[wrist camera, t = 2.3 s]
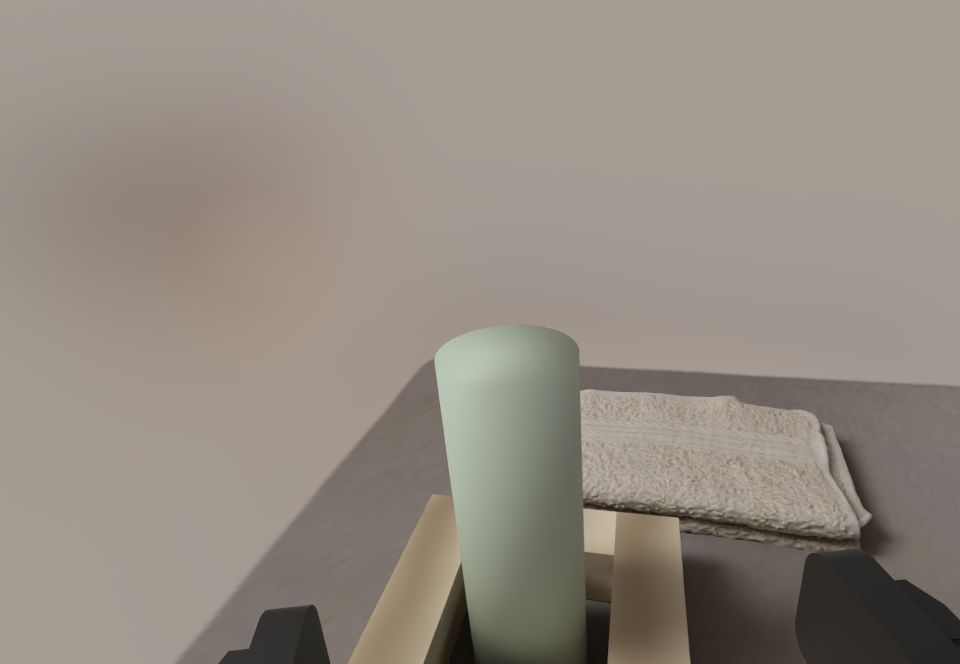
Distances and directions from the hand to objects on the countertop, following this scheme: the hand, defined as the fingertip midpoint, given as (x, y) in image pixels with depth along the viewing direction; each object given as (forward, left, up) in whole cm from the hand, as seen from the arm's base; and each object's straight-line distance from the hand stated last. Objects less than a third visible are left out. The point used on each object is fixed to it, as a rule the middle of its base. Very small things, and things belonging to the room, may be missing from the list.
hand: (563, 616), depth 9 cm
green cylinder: (+3, -11, -15) cm, 19 cm away
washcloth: (-4, -25, -16) cm, 30 cm away
